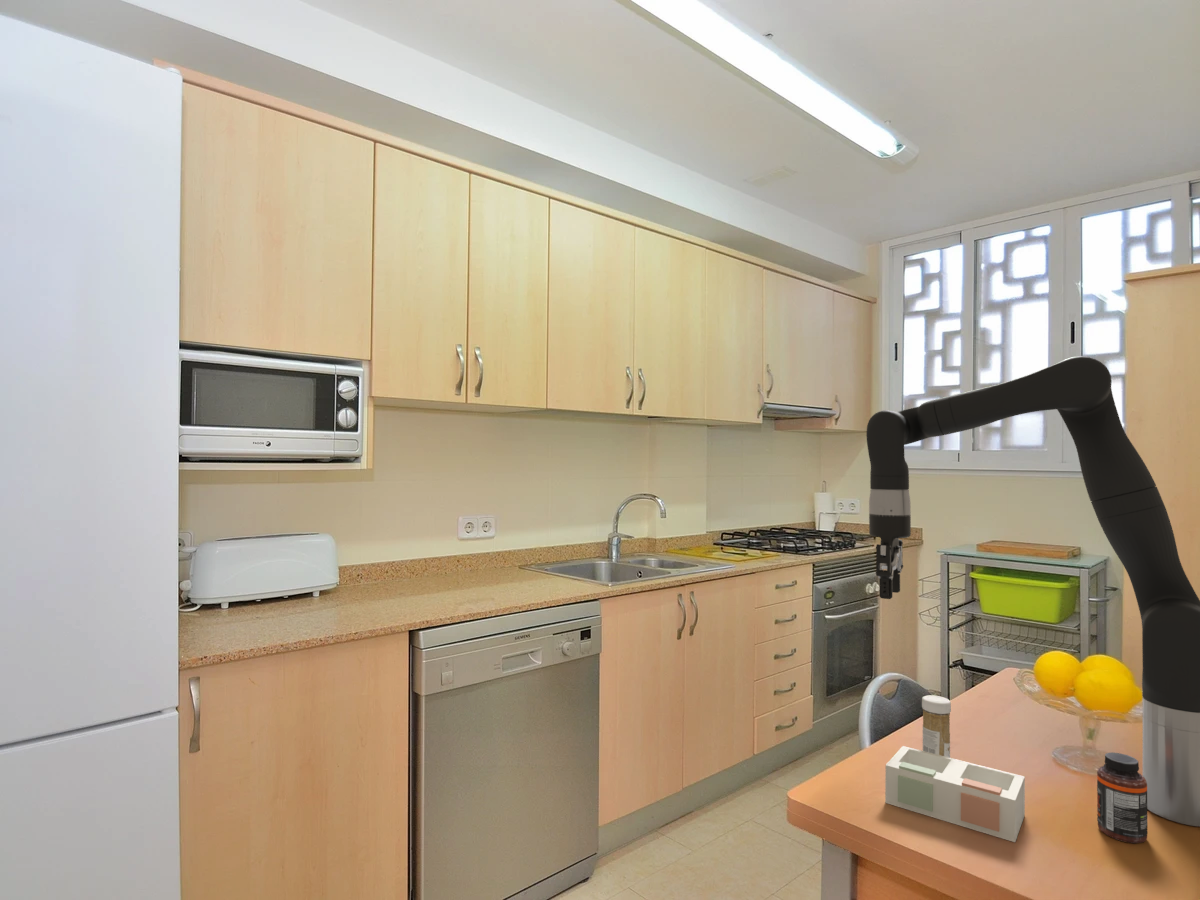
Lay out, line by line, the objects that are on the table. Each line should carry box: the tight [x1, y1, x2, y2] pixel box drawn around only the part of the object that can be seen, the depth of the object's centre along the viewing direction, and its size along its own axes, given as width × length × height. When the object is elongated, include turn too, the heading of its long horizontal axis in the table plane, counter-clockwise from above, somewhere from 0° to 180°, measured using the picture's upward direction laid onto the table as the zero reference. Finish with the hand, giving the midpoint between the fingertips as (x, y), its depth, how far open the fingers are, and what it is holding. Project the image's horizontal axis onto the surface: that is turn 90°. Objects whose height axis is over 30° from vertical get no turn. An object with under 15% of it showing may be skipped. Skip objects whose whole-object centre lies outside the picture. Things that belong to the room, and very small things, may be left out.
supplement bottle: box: [1096, 751, 1148, 844], centre depth 102 cm, size 6×6×11 cm
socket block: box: [884, 745, 1026, 843], centre depth 108 cm, size 18×10×6 cm, turn 52°
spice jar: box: [921, 694, 952, 758], centre depth 120 cm, size 5×5×14 cm
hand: (890, 595), depth 135 cm, fingers open, 8 cm apart
